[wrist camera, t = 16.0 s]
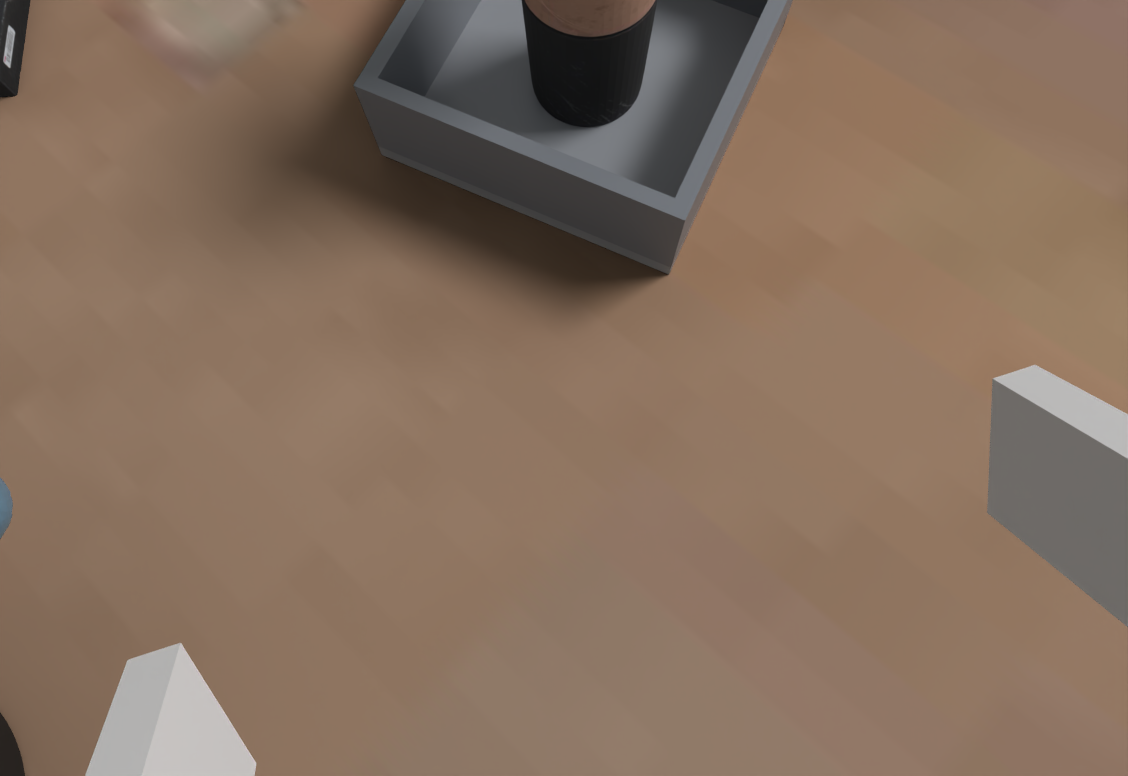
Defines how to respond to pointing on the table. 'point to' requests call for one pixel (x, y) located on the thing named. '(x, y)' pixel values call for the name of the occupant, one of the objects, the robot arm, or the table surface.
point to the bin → (558, 150)
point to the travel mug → (587, 56)
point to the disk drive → (12, 43)
